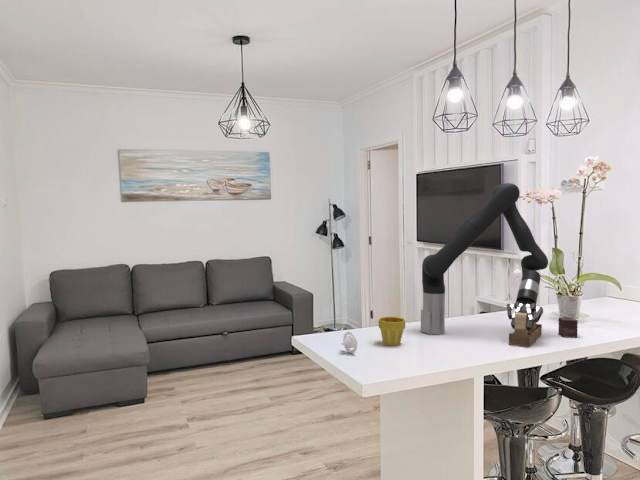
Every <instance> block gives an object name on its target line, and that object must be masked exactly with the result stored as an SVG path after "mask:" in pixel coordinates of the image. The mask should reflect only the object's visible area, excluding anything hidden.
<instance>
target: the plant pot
mask: <svg viewBox="0 0 640 480" xmlns="http://www.w3.org/2000/svg"><path fill="white" fill-rule="evenodd" d="M378 328H379V330H380V335H381V339H382V344H383V345H384V346H388V347H389V346H390V347H396V346H400V345H401V341H402V337H403V333H404V330H405V329H406V319H405V318H403V317H399V316H398V317H397V316H383V317H379V318H378Z"/></svg>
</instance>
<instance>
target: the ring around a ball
mask: <svg viewBox="0 0 640 480" xmlns="http://www.w3.org/2000/svg"><path fill="white" fill-rule="evenodd" d="M348 335H349V336H348ZM340 344H341V345H343V346H344V348H345V351H346V352H347V353H349V354H354V353H355V352H356V351H357V349H358V339H357V336H356V334H355V333H354V332H353V331H350V330H348V331H346V332H345V333H344V335H343V340H342V342H341V343H340Z"/></svg>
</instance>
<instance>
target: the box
mask: <svg viewBox="0 0 640 480" xmlns="http://www.w3.org/2000/svg"><path fill="white" fill-rule="evenodd" d="M557 333H558V335H559V336H561V337H562V338H575V339H576V338H578V320H577V319H576V318H575V317H572V316H571V317H570V316H569V317H567V316H566V317H565V316H560V317H558V332H557Z"/></svg>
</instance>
